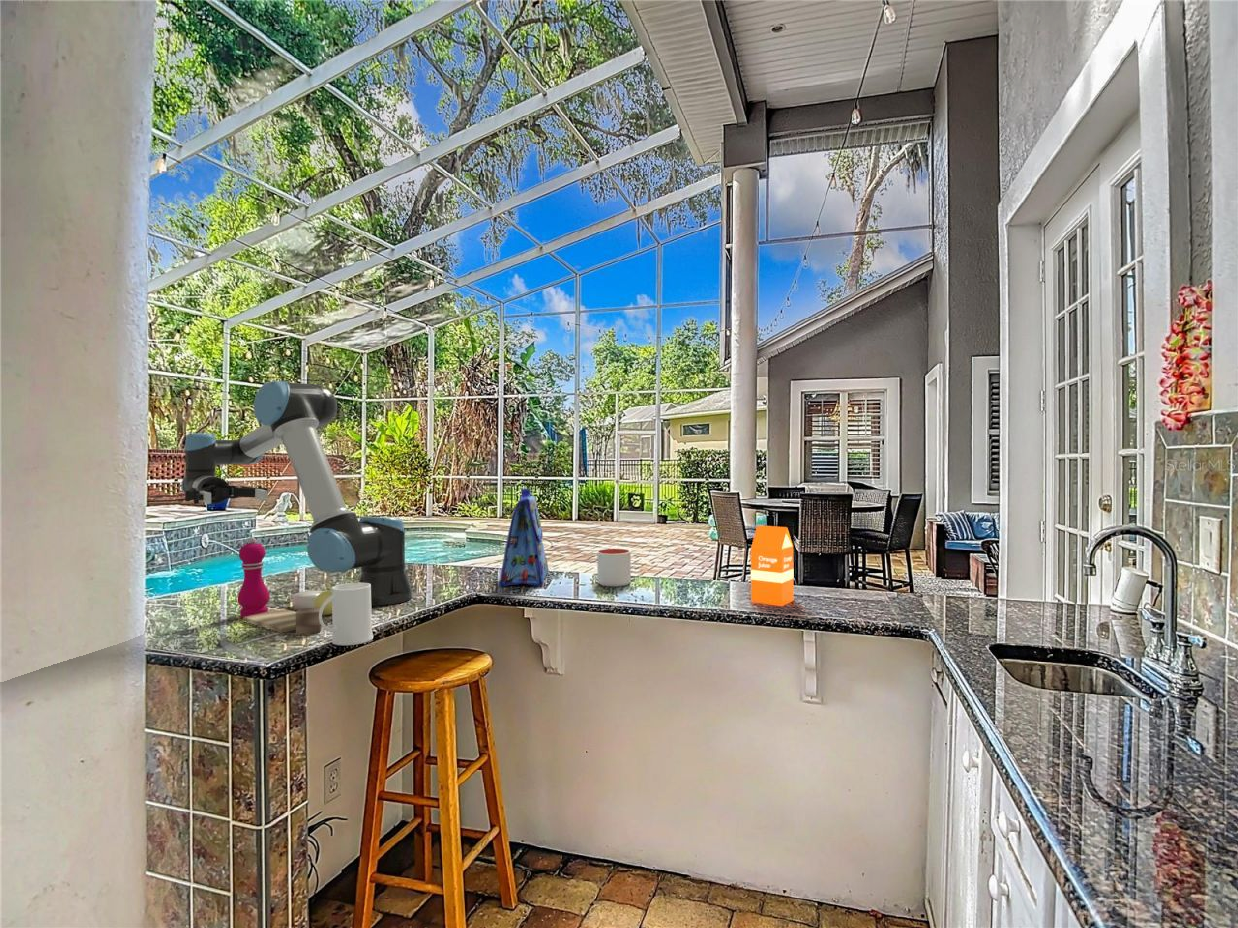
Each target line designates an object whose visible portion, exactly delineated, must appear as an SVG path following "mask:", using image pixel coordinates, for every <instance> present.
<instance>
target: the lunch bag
mask: <svg viewBox="0 0 1238 928" xmlns="http://www.w3.org/2000/svg"><path fill="white" fill-rule="evenodd" d="M520 493H521V497H520V498H519V500H518V501H517V503H516V505H515V507H514V509H513V513H512V516H511V520H510V525H509V529H508V532H507V538H506V542H505V547H504V548H505V549H504V554H503V560H502V566H501V570H500V571H501V572H500V577H499V587H509V586H516V585H517V586H518V585H521V584H524V585H529V586H530V585H531V586H535V587H541V586H543V585H544V582H545V578H546V576H547V575H548V574H549V571H550V569H549V565H548V564H549V563H548V560H547V557H546V553H545V549H544V548H545V547H544V543H543V536H544V535H543V530H542V524H541V518H540V515H539V509H538V504H537V499H536V496H535V495H534V494H533V493H532V494H531V488H529V487H528V488H521V490H520Z"/></svg>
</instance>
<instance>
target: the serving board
mask: <svg viewBox="0 0 1238 928" xmlns="http://www.w3.org/2000/svg"><path fill="white" fill-rule="evenodd" d="M295 614H296V611H293V610H290V609H287V608H279V609H276V610H271V611H268V612H265V613H260V614H255V615H251V616H246V617H243V618H242V619H243V621H246V622H249V623H252V624H255V625H258V626H257V627H259V626H261V627H260V628H262V627H265V628H268V629H267V630H269V629H271V630H270V631H272V630H274V631H273V632H275V631H277V632H276V633H278V632H280V633H279V634H284V633H287V632H292V631H296V616H295ZM246 622H245V623H246ZM249 623H248V624H249ZM252 624H251V625H252ZM255 625H254V626H255ZM265 628H264V629H265ZM283 632H284V633H283Z"/></svg>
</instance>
